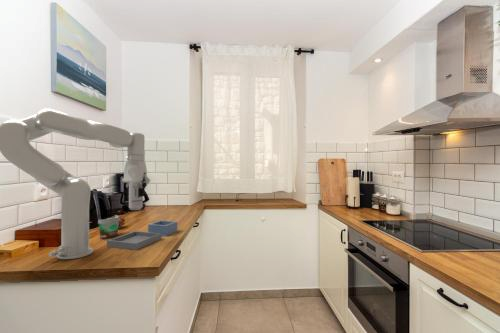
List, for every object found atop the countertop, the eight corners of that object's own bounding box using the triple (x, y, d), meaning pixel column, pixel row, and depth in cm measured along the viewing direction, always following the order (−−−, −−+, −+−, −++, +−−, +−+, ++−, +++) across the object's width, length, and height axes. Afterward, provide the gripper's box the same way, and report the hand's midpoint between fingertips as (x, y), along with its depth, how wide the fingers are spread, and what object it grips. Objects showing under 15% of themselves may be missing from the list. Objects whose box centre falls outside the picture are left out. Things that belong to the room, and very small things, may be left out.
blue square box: (165, 236, 133) (165, 225, 133) (148, 234, 136) (148, 224, 136) (177, 231, 144) (177, 221, 144) (160, 229, 147) (160, 220, 147)
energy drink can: (132, 210, 118) (132, 178, 118) (126, 209, 122) (126, 178, 122) (144, 209, 123) (145, 178, 123) (138, 207, 127) (139, 177, 127)
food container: (108, 240, 126) (108, 220, 126) (97, 239, 127) (97, 219, 127) (125, 233, 138) (125, 215, 138) (115, 233, 139) (115, 214, 139)
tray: (136, 250, 111) (136, 243, 111) (106, 246, 116) (106, 240, 116) (161, 238, 129) (161, 233, 129) (135, 236, 133) (135, 230, 133)
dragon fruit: (124, 228, 156) (111, 236, 144) (113, 220, 156) (99, 227, 144) (131, 218, 154) (118, 225, 142) (119, 209, 154) (106, 216, 142)
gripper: (115, 158, 121) (115, 196, 121) (145, 158, 116) (145, 197, 116) (127, 159, 128) (126, 194, 128) (156, 159, 123) (156, 195, 124)
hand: (135, 195), depth 122 cm, fingers closed on energy drink can, 6 cm apart
